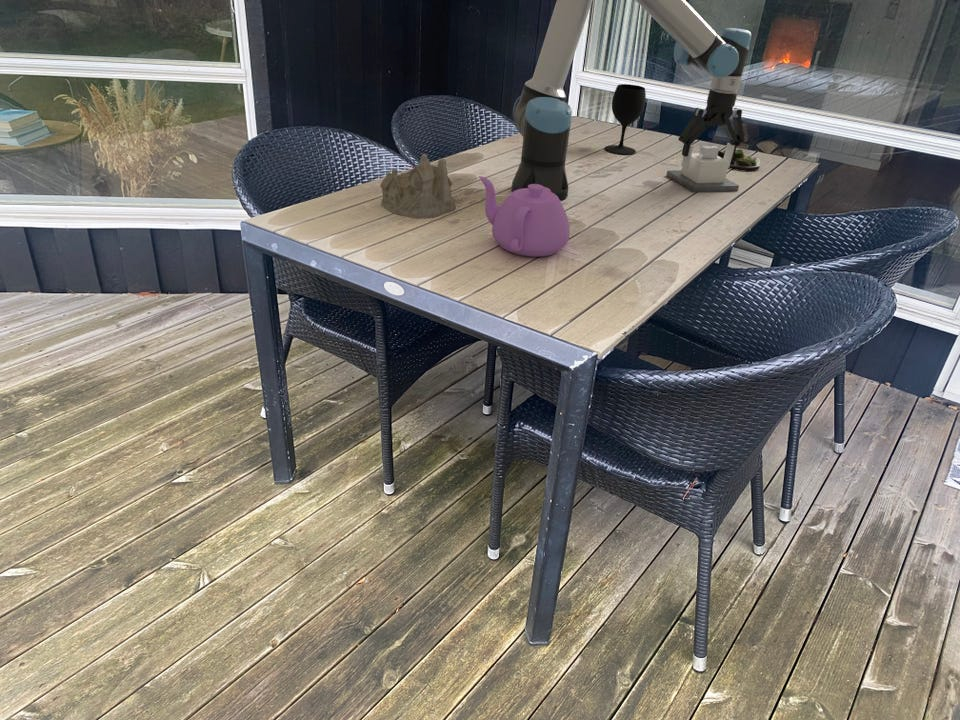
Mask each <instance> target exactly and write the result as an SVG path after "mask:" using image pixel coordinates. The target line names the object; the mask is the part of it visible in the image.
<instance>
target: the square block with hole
mask: <svg viewBox="0 0 960 720" xmlns="http://www.w3.org/2000/svg"><path fill="white" fill-rule="evenodd" d="M698 156H699V152H692V155H691V159H690V164H689V168H688V169H686V168H684V167H682V166H681V170H682V171H681V174H683V175H684V176H686V177H688V178H689V179H691V180H693V181H694V182H696V183H723V182H724V181H725V178H727V177H726V176H727V173H728V169H729V168H728V165H729V161H727V160H725V159H723V158H721V157H719V156H717V159H700V158H698Z"/></svg>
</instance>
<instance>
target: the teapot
mask: <svg viewBox="0 0 960 720" xmlns="http://www.w3.org/2000/svg"><path fill="white" fill-rule="evenodd" d="M478 178H479V179H480V181H481V182H482V184H483V185H484V187H485V201H484V202H485V203H484V205H485V206H484V210H485V216H486V218H487V220H488V222H489V223H490V224H491V225H492V226H491V228H492V229H491V233H492V236H493V238H494V240H495V241H496V243H497V244H498V245H499V247H501V248H502V249H503V250H505V251H508V252H510V253H512V254H516V255H520V256H526V257H547V256H550V255H555V254H557V253H558V252H559V251H561V250H562V249H563V248H564V247H565V246H566V245H567V244H568V242H569V240H570V236H571V235H570V234H571V233H570V228H571V227H570V222H569V219H568V218H569V217H568V215H567V212H566V210H565V208H564V204H562V200H561V201H560V200H559V198H558V196H557V195H555V194H554V193H552V192H551V190H550V189H549V188H546V187H543V186H542V185H539V184H530V185H528V188H523V189H518V190H515V191H513V192H512V191H511V193H510V194H509V195H508V196H507V198H505V200H504V202H503V203H502V204H501V205H500V206H499V205H498V203H497V201H496V190H495V186H494V184H493V182H492V181H491V180H490V179H488V178H486V177H484V176H482V175H481V176H480V175H479V176H478Z"/></svg>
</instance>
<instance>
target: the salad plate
mask: <svg viewBox="0 0 960 720" xmlns="http://www.w3.org/2000/svg"><path fill="white" fill-rule="evenodd" d="M725 150H726V148H725V149H724V150H723V151H722V150H719V151H718V155H717V156H719V157H721V158H724V154H725ZM760 165H761V159H759V158H758V157H755V156H752V155H747V154H745V153H744V151H743V149H741V148H739V149H736V150H735V154H734V156H732V159H731V162H730V166H729V168H732V169H731V170H734V169H738V170H737V171H741V170H746V171H745V172H753V170H754V171H756V170H758V169H760ZM729 168H728V169H729Z"/></svg>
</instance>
